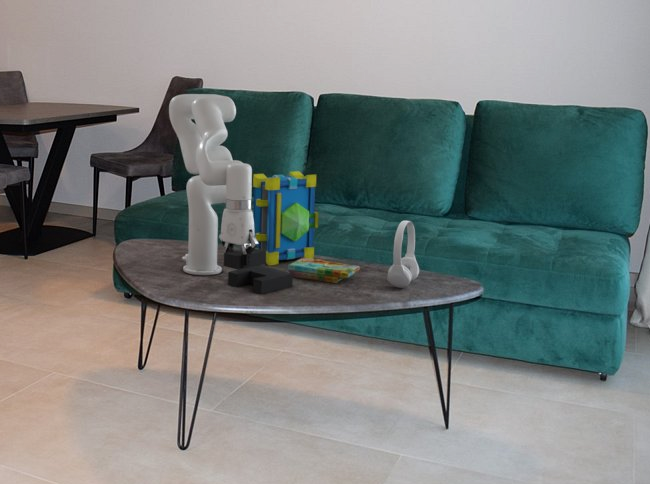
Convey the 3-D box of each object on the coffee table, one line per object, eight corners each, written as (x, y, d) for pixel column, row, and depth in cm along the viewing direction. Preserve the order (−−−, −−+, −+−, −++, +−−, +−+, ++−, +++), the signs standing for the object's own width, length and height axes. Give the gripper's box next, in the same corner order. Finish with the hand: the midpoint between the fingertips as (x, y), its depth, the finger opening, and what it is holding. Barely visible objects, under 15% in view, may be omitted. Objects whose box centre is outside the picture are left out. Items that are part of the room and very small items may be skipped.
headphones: (383, 289, 249) (386, 224, 247) (398, 276, 265) (401, 215, 263) (407, 293, 245) (409, 227, 244) (421, 279, 261) (423, 217, 260)
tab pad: (238, 269, 239) (238, 256, 239) (223, 266, 243) (223, 252, 243) (266, 263, 247) (266, 250, 247) (251, 260, 251) (251, 247, 251)
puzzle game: (301, 255, 271) (359, 263, 262) (300, 269, 272) (359, 278, 262) (287, 262, 261) (348, 271, 252) (287, 277, 262) (347, 286, 252)
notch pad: (227, 284, 252) (228, 271, 251) (259, 277, 261) (259, 264, 261) (261, 294, 241) (261, 280, 241) (292, 286, 251) (293, 273, 250)
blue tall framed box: (320, 260, 286) (322, 175, 283) (267, 267, 274) (270, 178, 271) (294, 251, 298) (296, 170, 295) (242, 258, 286) (244, 173, 283)
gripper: (209, 202, 246) (208, 262, 247) (250, 209, 233) (249, 272, 234) (227, 200, 251) (226, 258, 252) (268, 207, 238) (267, 268, 239)
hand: (237, 264), depth 243 cm, fingers closed on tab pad, 6 cm apart
